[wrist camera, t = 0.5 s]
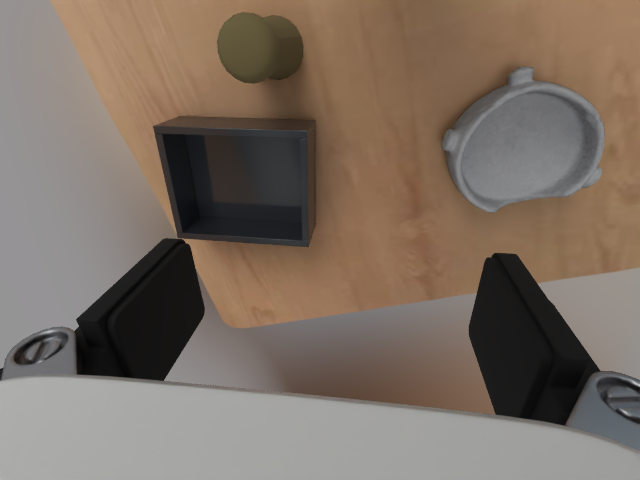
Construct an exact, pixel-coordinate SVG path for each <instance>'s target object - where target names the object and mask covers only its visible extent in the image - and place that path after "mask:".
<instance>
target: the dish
mask: <svg viewBox="0 0 640 480" xmlns="http://www.w3.org/2000/svg"><path fill="white" fill-rule="evenodd" d="M533 73H534V69H533V67H526V66H525V67H519V68H516V69H515V70H514V71H513V72H512V73H511V74H509V76H508V77H507V85H504V86H502V87H500V88H498V89H495V90H493V91H492V92H490V93H488V94H486V95H485V96H483V97H482V98H480V99H479V100H477V101H476V102H474V103H473V104H472V105H471V106H470V107H469V108H468V109H467V110H466V111H465V112H464V113H463V114H462V115H461V116H460V117H459V118H458V120H457V121H456V122H455V124H454V126H453V128H452V129H449V130H447V131H446V133H445V135H444V137H443V140H442V144H441V147H442V149H443V150H446V159H447V165H448V169H449V172H450V175H451V177H452V179H453V182H454V183H455V185H456V187H457V188H458V190H459V191H460V192H461V194H462V195H463V196H464V197H465V198H466V199H467V200H468V201H469V202H470V203H472V204H473V205H474V206H476V207H478V208H480V209H482V210H484V211H487V212H490V213H494V212H496V211H497V210H498V209H500V208H501V207H503V206H505V205H508V204H511V203H514V202H521V201H526V200H532V199H541V198H548V197H569V196H571V195H572V194H574V193H575V192H577V191H578V190H579V189H580V188H587V187H589V186H591V185H593V184H594V183H596V182H597V181H598V180H599V178H600V176H601V175H602V170H601V168H600V167H597V166H598V164H599V161H600V159H601V156H602V152H603V148H604V136H605V134H604V125H603V123H602V120H601V118H600V116H599V114H598V112H597V110H596V109H595V108H594V106H593V105H592V104H591V103H590V102H589V101H588V100H586V99H585V98H584V97H583V96H581V95H580V94H578V93H576V92H574V91H572V90H570V89H568V88H566V87H564V86H561V85H558V84H554V83H550V82H544V81H534V80H533V79H532V78H533Z"/></svg>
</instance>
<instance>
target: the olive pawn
mask: <svg viewBox="0 0 640 480" xmlns="http://www.w3.org/2000/svg"><path fill="white" fill-rule="evenodd" d="M217 44H218V54H219V57H220V60H221V63H222V64H223V66H224V67H225V69H226V70H227V71H228V72H229V73H230V74H231V75H232V76H233V77H234V78H236V79H238V80H240V81H242V82H244V83H257V82H261V81H264V80H266V79H267V78H269V79H277V80H280V79H284V78H288V77H289V76H290V75H292V74H293V73H295V71H296V70H297V68H298V67H299V66H300V63H301V60H302V57H303V43H302V38H301V35H300V34H299V32H298V30H297V28H296V27H295V26H294V25H293V24H292V23H291V22H290V21H289V20H287V19H285V18H283V17H281V16H273V15H271V16H268V17H265V18H262V17H260V16H258V15H256V14H254V13H245V12H242V13H239V14H236V15H233V16H232V17H231V18H230V19H228V20H227V21H226V22H225V23H224V24H223V26H222V28H221V30H220V32H219V36H218V41H217Z"/></svg>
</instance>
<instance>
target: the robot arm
mask: <svg viewBox="0 0 640 480" xmlns="http://www.w3.org/2000/svg"><path fill="white" fill-rule="evenodd" d="M204 311H205V308H204V303H203V299H202V295H201V290H200V286H199V282H198V277H197V273H196V269H195V265H194V260H193V256H192V252H191V248H190V246H189V244H186V243H185V241H184V240H182V239H168V238H166V239H163V240H162V241H161V242H160V243H159V244H157V245H156V246H155V247H154V248H153V249H152V250H151V251H150V252H149V253H148V254H147V255H146V256H144V257H143V258H142V259H141V260H140V261H139V262H138V263H137V264H136V265H135V266H134V267H132V268H131V269H130V270H129V271H128V272H127V273H126V274H125V275H124V276H123V277H122V278H121V279H120V280H118V281H117V282H116V283H115V284H114V285H113V286H112V287H111V288H110V289H109V290H108V291H106V292H105V293H104V294H103V295H102V296H101V297H100V298H99V299H98V300H97V301H96V302H94V303H93V304H92V305H91V306H90V307H89V308H88V309H87V310H86V311H85V312H84V313H83V314H81V315H80V316H79V317H78V318H77V319H76V320H77V323H78V325H79V327H78V328H77V329H76V330H75V331H73V330H72V329H70V328H67V327H53V328H50V329H46V330H42V331H40V332H37V333H34V334H33V335H30V336H29V337H27V338H25V339H23V340H22V341H21V342H19V343H18V344H17V345H15V346H14V347H13V348H12V349H11V350H10V352H9V353H8V355H7V357H6V359H5V363H4V368H2V369H0V480H640V380H638V379H636V378H633V377H631V376H628V375H626V374H622V373H618V372H613V371H600V370H599V368H598V367H597V365H596V364H595V363H594V361H593V360H592V358H591V357H590V356H589V354H588V353H587V351H586V350H585V349H584V347H583V346H582V345H581V343H580V341H579V340H578V339H577V337H576V336H575V334H574V333H573V332H572V330H571V329H570V327H569V326H568V324H567V323H566V322H565V320H564V319H563V317H562V316H561V315H560V313H559V312H558V311H557V309H556V308H555V306H554V305H553V304H552V303H551V302H550V301H549V300H548V299H547V297H546V295H545V294H544V293H543V291H542V290H541V289H540V287H539V286H538V284H537V283H536V281H535V280H534V278H533V277H532V276H531V274H530V273H529V271H528V270H527V268H526V267H525V266H524V264H523V263H522V261H521V260H520V258H519V257H518V256H517V255H516V254H506V253H494V254H493V255H492V258H486V260H485V262H484V267H483V271H482V275H481V279H480V283H479V287H478V291H477V295H476V300H475V304H474V308H473V312H472V316H471V320H470V324H469V337H470V340H471V343H472V346H473V349H474V352H475V355H476V358H477V361H478V363H479V367H480V370H481V373H482V376H483V378H484V381H485V384H486V387H487V390H488V393H489V396H490V399H491V402H492V405H493V408H494V411H495V414H496V415H494V414H486V413H477V412H468V411H459V410H451V409H442V408H433V407H423V406H413V405H404V404H395V403H385V402H375V401H366V400H356V399H346V398H337V397H326V396H316V395H305V394H296V393H285V392H276V391H265V390H255V389H245V388H235V387H224V386H212V385H201V384H191V383H180V382H170V381H164V379H165V378H166V376H167V375H168V373H169V371H170V370H171V368H172V366H173V365H174V363H175V362H176V360H177V358H178V357H179V355H180V354H181V352H182V350H183V349H184V347H185V346H186V344H187V342H188V341H189V339H190V338H191V336H192V334H193V333H194V331H195V330H196V328H197V326H198V325H199V323H200V322H201V320H202V318H203V316H204Z"/></svg>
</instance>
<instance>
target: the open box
mask: <svg viewBox="0 0 640 480" xmlns="http://www.w3.org/2000/svg"><path fill="white" fill-rule="evenodd" d="M153 128H154V132H155V137H156V141H157V146H158V150H159V155H160V159H161V164H162V168H163V173H164V177H165V182H166V186H167V191H168V195H169V200H170V204H171V209H172V213H173V218H174V222H175V227H176V231H177V236H178V238H184V239H199V240H213V241H228V242H242V243H257V244H272V245H286V246H301V247H309V245H310V241H311V238H312V235H313V232H314V229H315V225H316V147H315V120H296V119H260V118H225V117H189V116H179V117H177V118H174V119H171V120H169V121H166V122H163V123H160V124H158V125H155V126H153Z"/></svg>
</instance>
